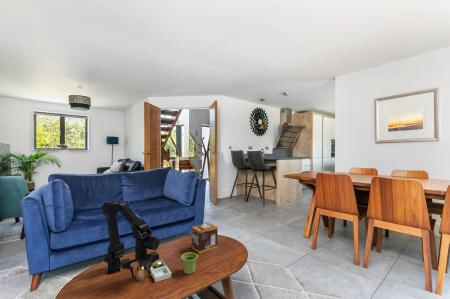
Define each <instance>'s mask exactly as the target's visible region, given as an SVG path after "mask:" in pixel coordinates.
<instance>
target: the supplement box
mask: <svg viewBox="0 0 450 299" xmlns="http://www.w3.org/2000/svg"><path fill="white" fill-rule="evenodd" d="M214 248H215V249H217V248H218V226H217V225H215V224H213V223H211V222H207V223H202V224H197V225H194V226H192V227H191V249H192V250H193V251H195V252H197V254H202V252H203V253H205V251H206V252H209V251H212V250H215V249H214ZM211 249H212V250H211ZM208 250H209V251H208Z"/></svg>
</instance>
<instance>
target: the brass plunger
mask: <svg viewBox="0 0 450 299" xmlns="http://www.w3.org/2000/svg"><path fill="white" fill-rule="evenodd" d="M161 260H162V259H159V260H157V261H155V262H154V263H153V264H152V266H153V268H158V267H161V266H162V261H161Z"/></svg>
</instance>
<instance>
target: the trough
mask: <svg viewBox="0 0 450 299" xmlns="http://www.w3.org/2000/svg"><path fill="white" fill-rule="evenodd" d="M159 267H160V268H158V267H156V268H157V269H154V270H151V273H150V276H151V277H152V279H153V280H154V282H155V283H157V282H160V281H163V280H167V279H170V278H172V272H171V270H170V269H169V267H168V268H167V266H164V267H161V266H159Z"/></svg>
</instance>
